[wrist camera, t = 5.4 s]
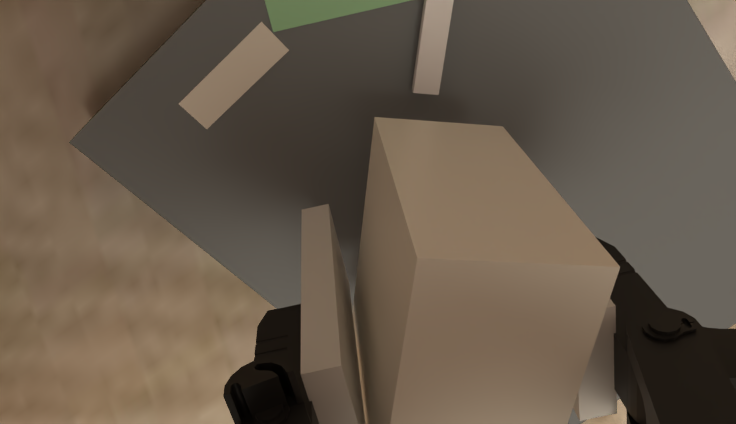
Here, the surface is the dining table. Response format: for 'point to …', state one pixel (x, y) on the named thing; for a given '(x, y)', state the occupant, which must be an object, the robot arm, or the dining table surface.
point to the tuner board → (453, 104)
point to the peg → (470, 272)
